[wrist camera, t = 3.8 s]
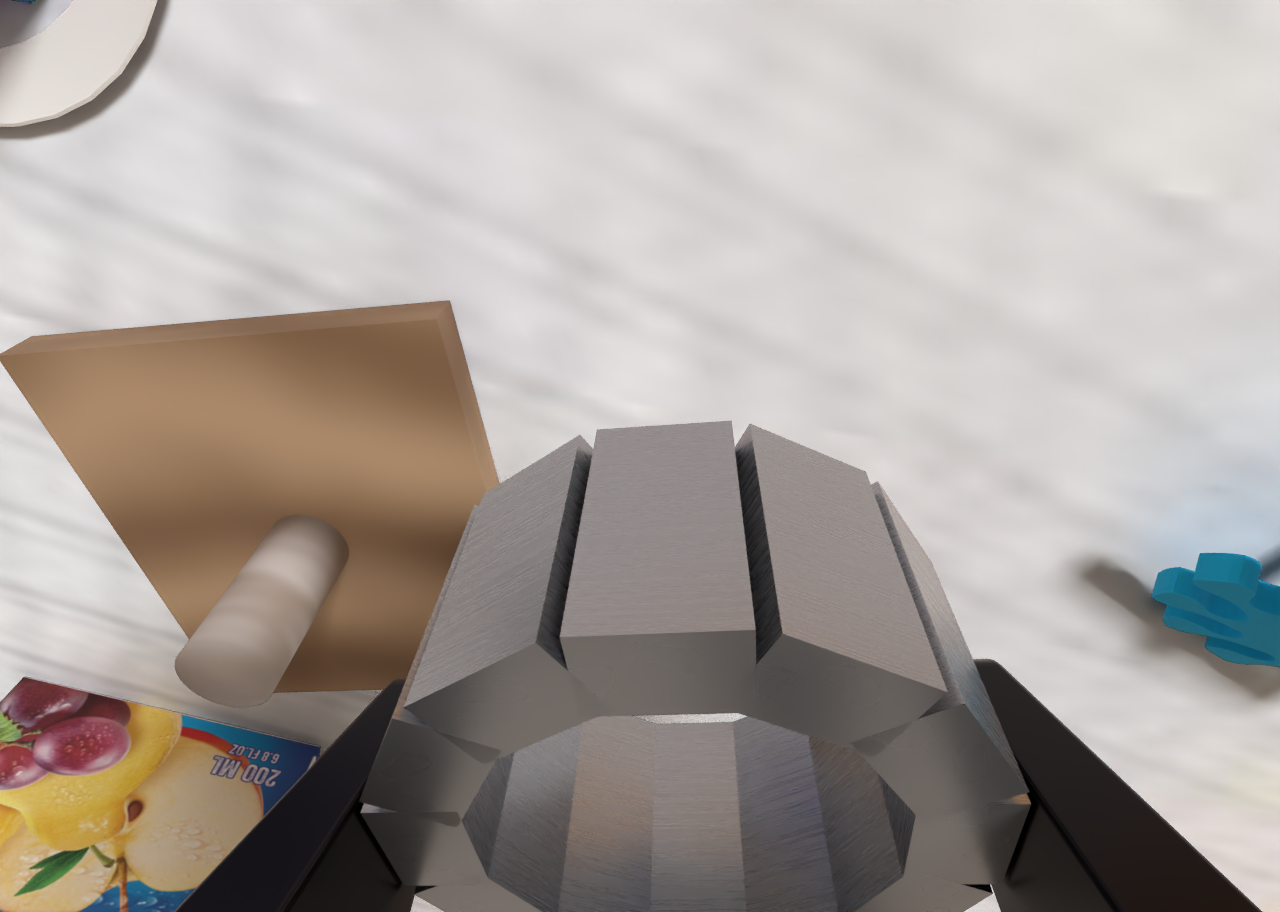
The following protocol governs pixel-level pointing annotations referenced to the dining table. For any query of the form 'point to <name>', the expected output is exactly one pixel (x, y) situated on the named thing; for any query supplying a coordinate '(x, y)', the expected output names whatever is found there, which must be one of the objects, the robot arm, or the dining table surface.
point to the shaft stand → (277, 481)
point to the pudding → (70, 59)
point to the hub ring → (694, 696)
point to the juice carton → (125, 799)
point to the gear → (1224, 607)
